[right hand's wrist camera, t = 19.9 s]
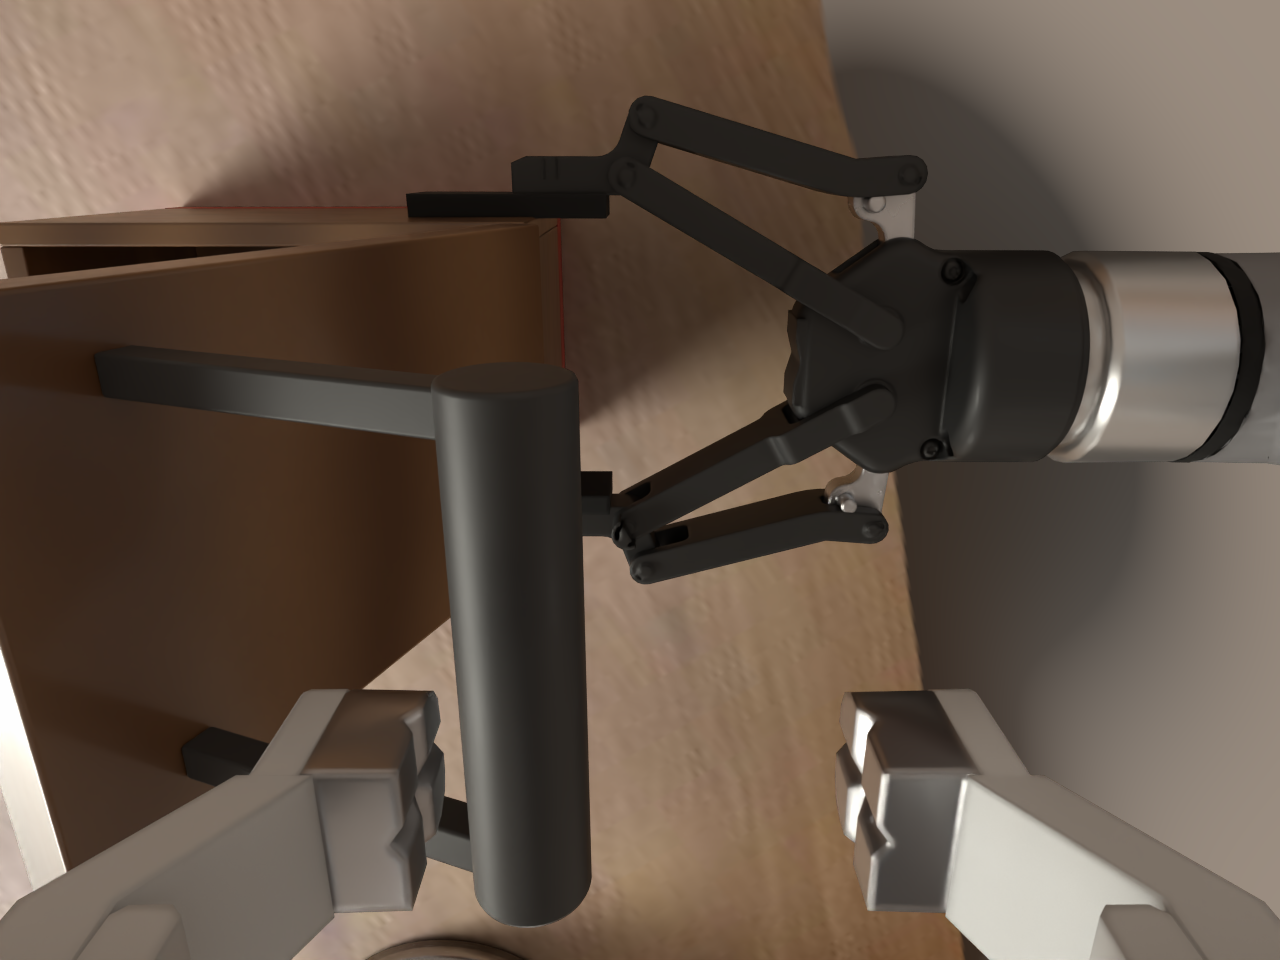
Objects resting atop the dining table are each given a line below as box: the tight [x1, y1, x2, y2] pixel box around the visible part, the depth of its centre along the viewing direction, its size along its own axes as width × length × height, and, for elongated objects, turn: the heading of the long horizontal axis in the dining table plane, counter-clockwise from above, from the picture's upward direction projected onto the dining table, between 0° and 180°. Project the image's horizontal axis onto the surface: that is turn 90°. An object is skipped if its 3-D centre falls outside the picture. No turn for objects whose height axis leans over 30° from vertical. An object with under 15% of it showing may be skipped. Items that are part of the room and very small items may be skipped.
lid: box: [0, 223, 592, 928], centre depth 18 cm, size 16×10×9 cm
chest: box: [0, 207, 565, 368], centre depth 32 cm, size 16×10×11 cm, turn 90°
